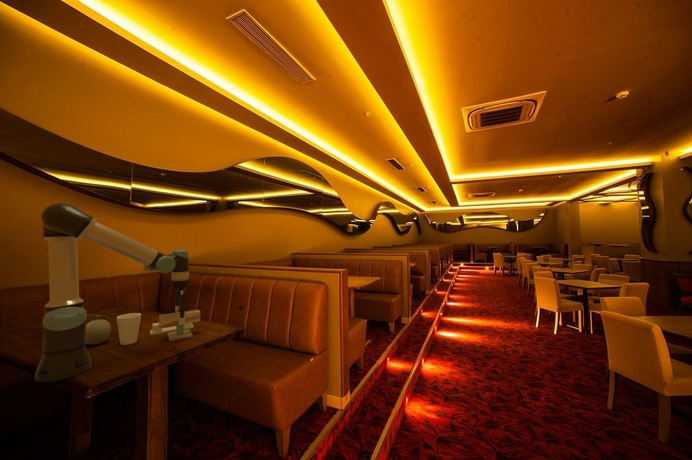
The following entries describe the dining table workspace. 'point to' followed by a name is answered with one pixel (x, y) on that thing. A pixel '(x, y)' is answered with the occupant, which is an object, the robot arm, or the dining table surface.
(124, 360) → the dining table surface
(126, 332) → the foam cup
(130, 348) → the dining table surface
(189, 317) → the bar
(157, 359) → the dining table surface
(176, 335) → the fulcrum
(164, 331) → the beige bracket
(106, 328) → the fruit
